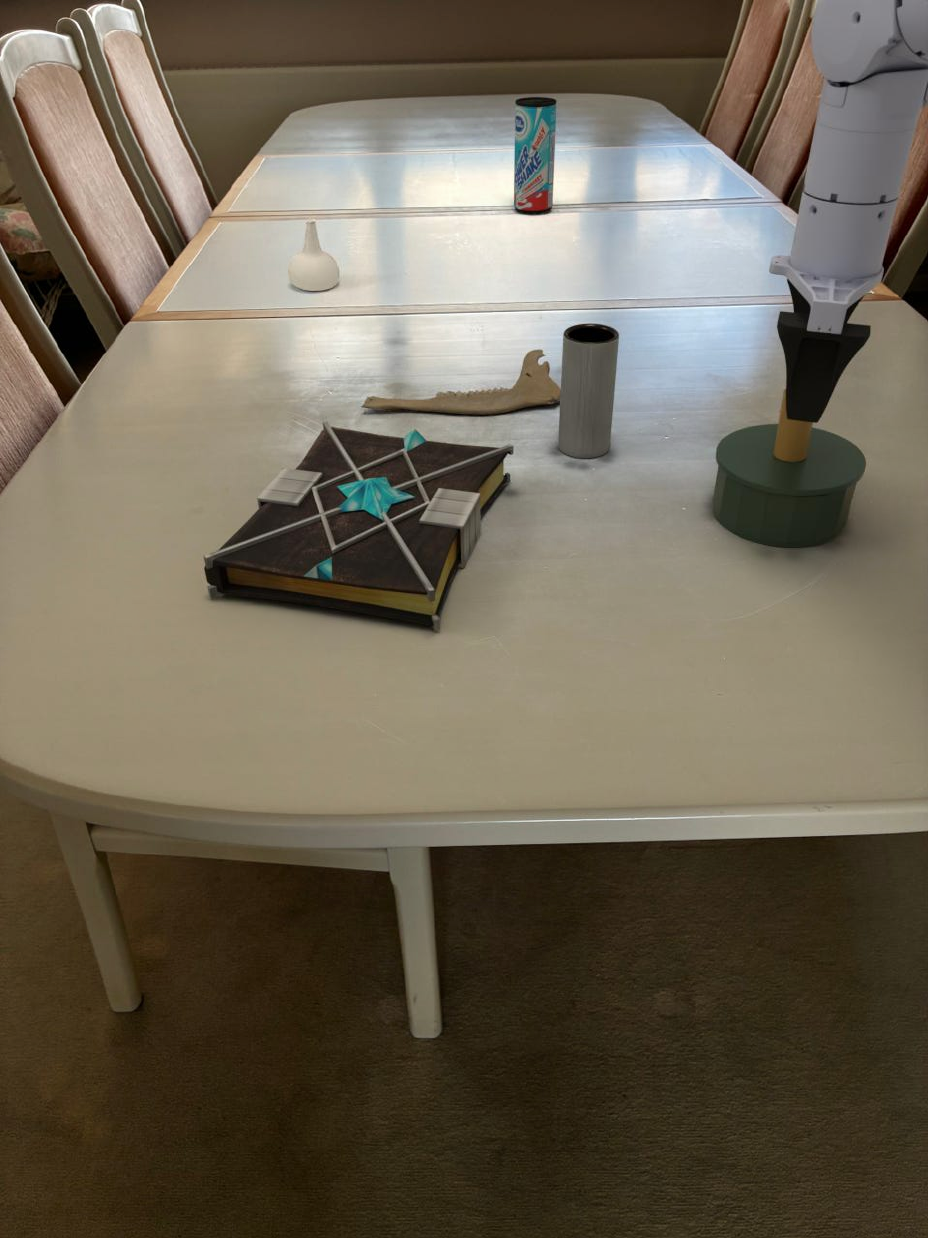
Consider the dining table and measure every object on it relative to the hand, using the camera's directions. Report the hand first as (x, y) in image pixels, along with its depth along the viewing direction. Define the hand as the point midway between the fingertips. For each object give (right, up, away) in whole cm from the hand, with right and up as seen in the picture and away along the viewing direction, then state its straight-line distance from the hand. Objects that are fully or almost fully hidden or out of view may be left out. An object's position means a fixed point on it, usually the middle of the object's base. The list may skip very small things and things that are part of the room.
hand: (805, 395), depth 68 cm
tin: (0, -8, +7) cm, 10 cm away
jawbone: (-24, +6, +26) cm, 36 cm away
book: (-31, -10, +5) cm, 33 cm away
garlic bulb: (-43, +26, +52) cm, 72 cm away
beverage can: (-14, +46, +79) cm, 92 cm away
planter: (-14, -1, +16) cm, 21 cm away
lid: (0, -4, +4) cm, 6 cm away
